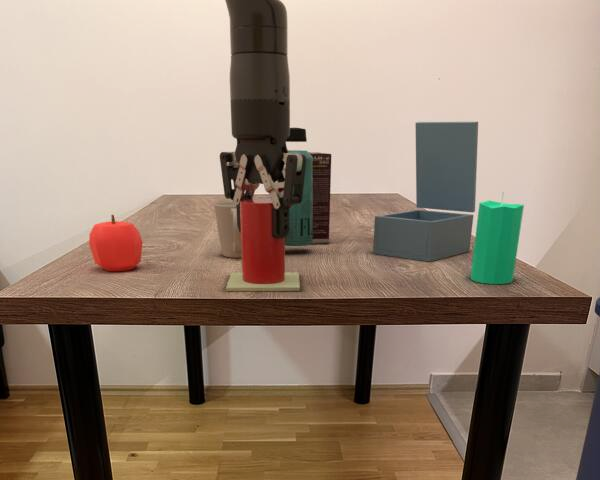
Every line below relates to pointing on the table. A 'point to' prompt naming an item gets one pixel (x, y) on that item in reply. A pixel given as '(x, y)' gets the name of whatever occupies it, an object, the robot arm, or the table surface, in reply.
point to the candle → (496, 242)
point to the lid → (446, 165)
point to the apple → (115, 245)
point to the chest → (422, 234)
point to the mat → (287, 285)
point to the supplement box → (321, 196)
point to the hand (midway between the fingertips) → (262, 234)
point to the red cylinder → (260, 244)
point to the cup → (228, 229)
